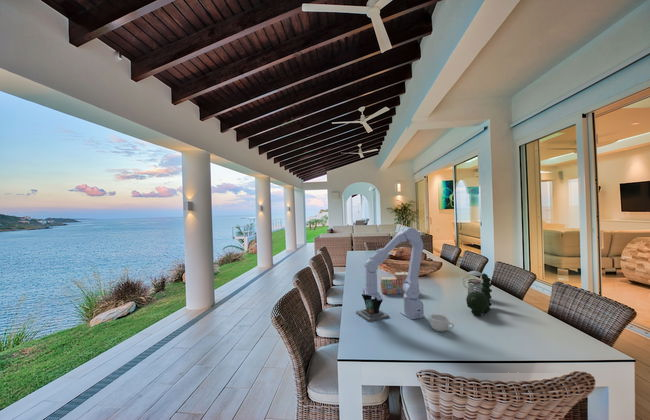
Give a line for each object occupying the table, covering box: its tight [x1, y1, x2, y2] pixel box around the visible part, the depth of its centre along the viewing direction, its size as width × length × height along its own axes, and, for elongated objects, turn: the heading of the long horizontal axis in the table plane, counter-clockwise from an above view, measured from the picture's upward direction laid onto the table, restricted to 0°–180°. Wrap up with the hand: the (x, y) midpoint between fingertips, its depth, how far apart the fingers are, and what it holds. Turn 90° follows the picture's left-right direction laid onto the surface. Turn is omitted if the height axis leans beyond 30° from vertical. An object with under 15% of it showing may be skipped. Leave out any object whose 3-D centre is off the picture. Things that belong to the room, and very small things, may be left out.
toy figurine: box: [465, 273, 493, 317], centre depth 142 cm, size 10×19×26 cm
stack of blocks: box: [380, 271, 408, 295], centre depth 178 cm, size 21×6×12 cm, turn 87°
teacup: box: [429, 313, 455, 333], centre depth 122 cm, size 10×8×5 cm
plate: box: [355, 308, 390, 322], centre depth 141 cm, size 12×12×2 cm
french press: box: [462, 254, 483, 297], centre depth 165 cm, size 10×12×25 cm
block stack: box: [365, 298, 375, 315], centre depth 141 cm, size 4×4×6 cm
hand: (372, 310), depth 141 cm, fingers open, 7 cm apart
